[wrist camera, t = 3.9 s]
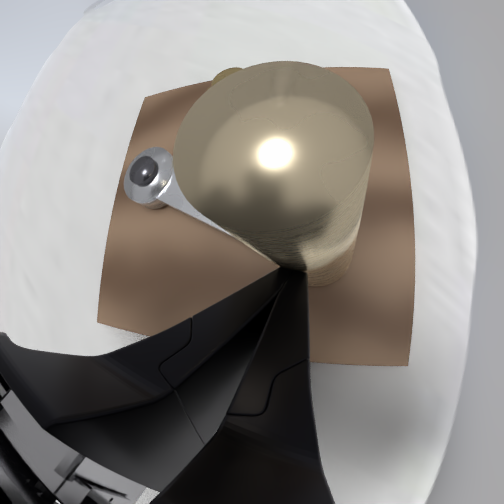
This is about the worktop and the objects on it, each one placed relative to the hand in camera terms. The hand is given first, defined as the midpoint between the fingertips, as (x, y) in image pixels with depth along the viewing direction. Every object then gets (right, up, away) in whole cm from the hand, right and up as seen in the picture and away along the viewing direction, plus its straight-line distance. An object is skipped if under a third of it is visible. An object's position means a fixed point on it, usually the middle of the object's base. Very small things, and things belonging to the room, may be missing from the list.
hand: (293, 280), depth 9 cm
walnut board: (-2, +5, +10) cm, 11 cm away
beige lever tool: (-3, +3, +9) cm, 10 cm away
